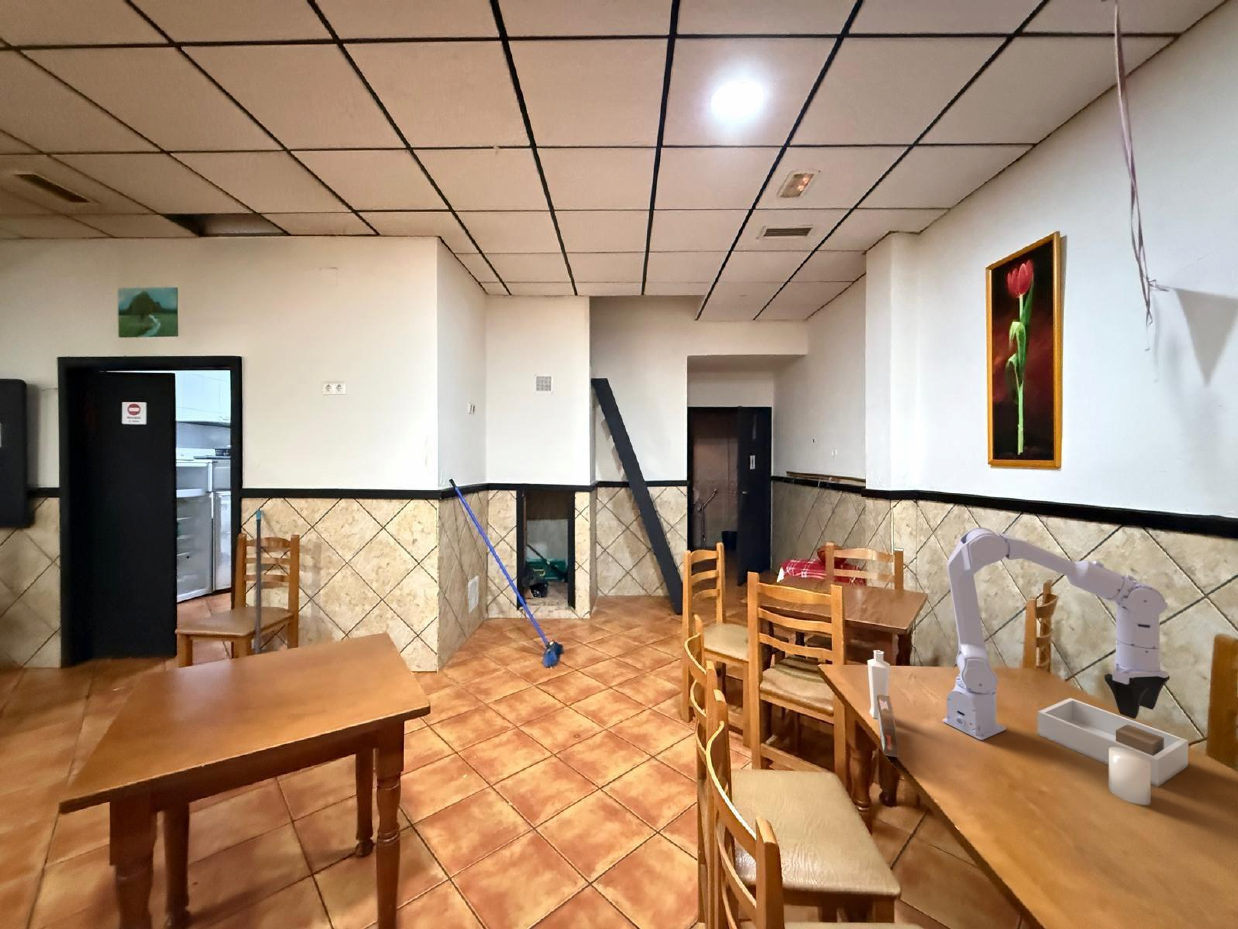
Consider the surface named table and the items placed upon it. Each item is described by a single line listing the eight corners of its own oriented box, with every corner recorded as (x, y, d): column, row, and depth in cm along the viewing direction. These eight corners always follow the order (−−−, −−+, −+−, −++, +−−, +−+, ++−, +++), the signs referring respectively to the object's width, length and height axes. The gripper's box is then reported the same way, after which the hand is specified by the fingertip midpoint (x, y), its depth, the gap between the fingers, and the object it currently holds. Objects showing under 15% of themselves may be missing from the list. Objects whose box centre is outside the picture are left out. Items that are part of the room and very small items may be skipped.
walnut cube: (1152, 770, 87) (1152, 744, 87) (1115, 755, 92) (1115, 730, 92) (1163, 763, 89) (1164, 737, 89) (1127, 748, 94) (1127, 724, 94)
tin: (899, 767, 90) (899, 724, 90) (881, 763, 91) (881, 720, 91) (891, 726, 104) (891, 689, 103) (875, 723, 105) (875, 686, 105)
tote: (1157, 787, 84) (1157, 759, 84) (1037, 734, 100) (1037, 711, 100) (1188, 766, 89) (1188, 740, 89) (1070, 719, 105) (1070, 697, 105)
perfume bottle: (870, 708, 111) (870, 646, 111) (891, 715, 108) (891, 651, 108) (864, 715, 108) (864, 651, 108) (885, 723, 105) (885, 657, 105)
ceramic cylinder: (1143, 809, 79) (1143, 768, 79) (1103, 789, 83) (1103, 751, 83) (1156, 799, 81) (1156, 760, 81) (1116, 781, 85) (1116, 744, 85)
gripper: (1150, 657, 84) (1150, 731, 84) (1183, 644, 90) (1182, 713, 90) (1098, 643, 91) (1097, 712, 91) (1131, 631, 96) (1131, 696, 97)
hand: (1136, 711), depth 91 cm, fingers open, 7 cm apart
